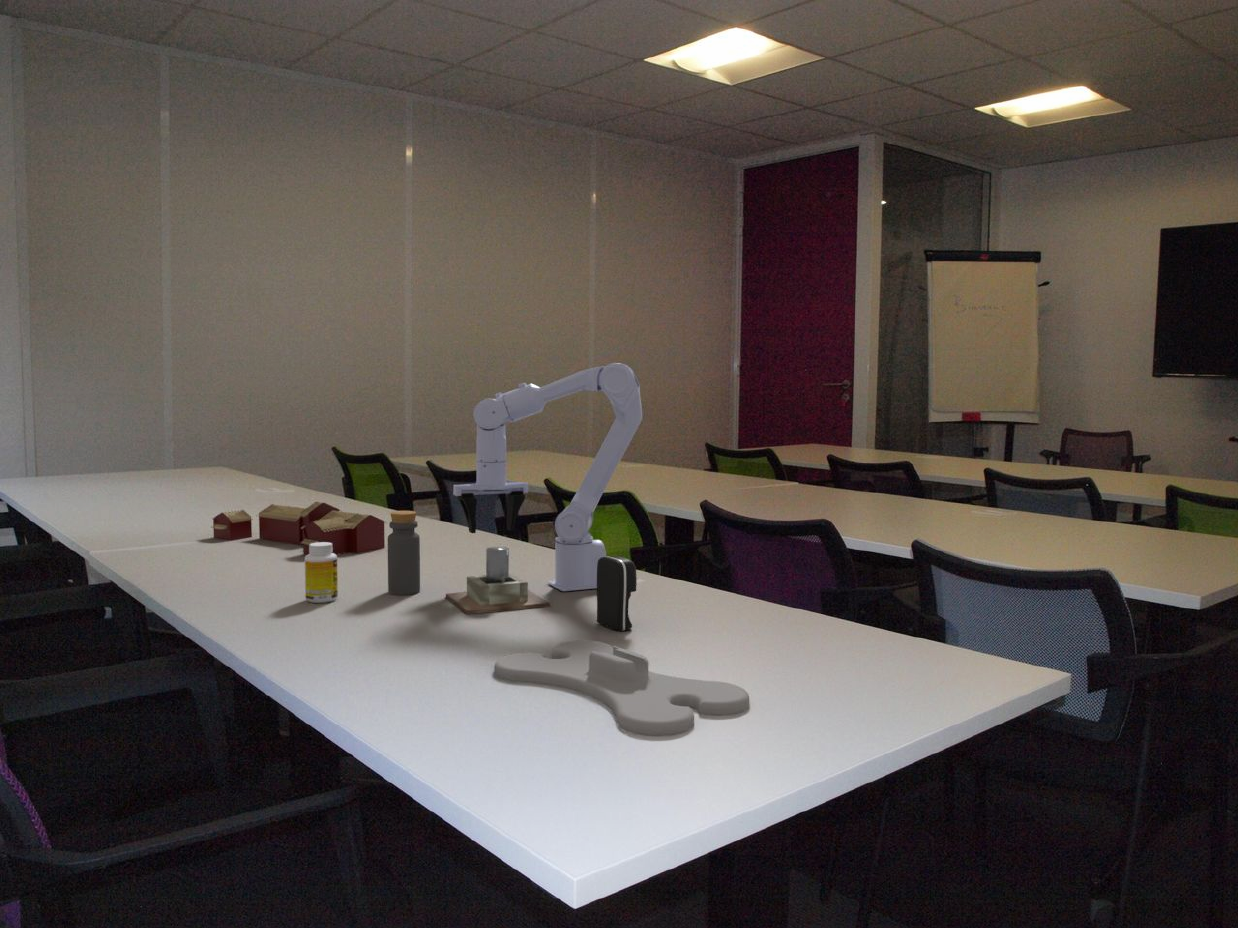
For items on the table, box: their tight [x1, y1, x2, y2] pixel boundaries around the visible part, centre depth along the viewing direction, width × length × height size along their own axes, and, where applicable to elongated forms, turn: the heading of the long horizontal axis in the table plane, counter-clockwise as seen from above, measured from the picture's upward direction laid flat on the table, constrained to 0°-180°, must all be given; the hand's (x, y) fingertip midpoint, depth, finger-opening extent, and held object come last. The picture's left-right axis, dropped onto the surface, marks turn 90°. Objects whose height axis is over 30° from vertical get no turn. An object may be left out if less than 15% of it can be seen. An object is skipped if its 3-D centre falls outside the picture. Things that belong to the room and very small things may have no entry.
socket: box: [445, 572, 551, 615], centre depth 170 cm, size 15×14×4 cm
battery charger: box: [596, 555, 638, 632], centre depth 153 cm, size 7×4×11 cm, turn 36°
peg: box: [485, 546, 510, 584], centre depth 169 cm, size 4×4×9 cm
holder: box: [493, 639, 750, 737], centre depth 124 cm, size 19×34×5 cm, turn 42°
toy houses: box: [210, 501, 387, 556], centre depth 227 cm, size 45×20×10 cm, turn 57°
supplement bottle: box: [304, 542, 339, 604], centre depth 169 cm, size 6×6×10 cm
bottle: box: [387, 510, 421, 596], centre depth 176 cm, size 6×6×15 cm
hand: (491, 531), depth 183 cm, fingers open, 7 cm apart
